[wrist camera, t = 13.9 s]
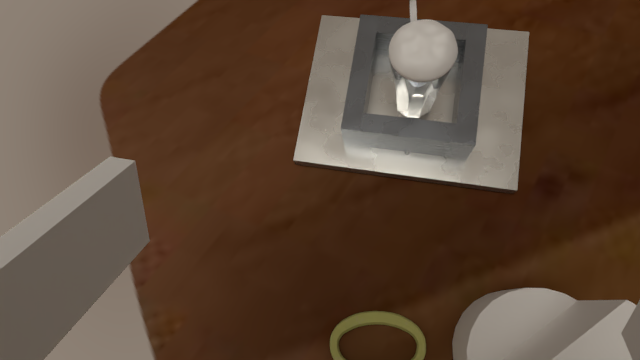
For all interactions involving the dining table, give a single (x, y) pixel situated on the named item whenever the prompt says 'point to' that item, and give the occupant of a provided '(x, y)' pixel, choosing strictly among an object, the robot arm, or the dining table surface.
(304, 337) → the dining table surface
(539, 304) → the base with upright slab
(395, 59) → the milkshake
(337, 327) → the key
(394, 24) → the holder
